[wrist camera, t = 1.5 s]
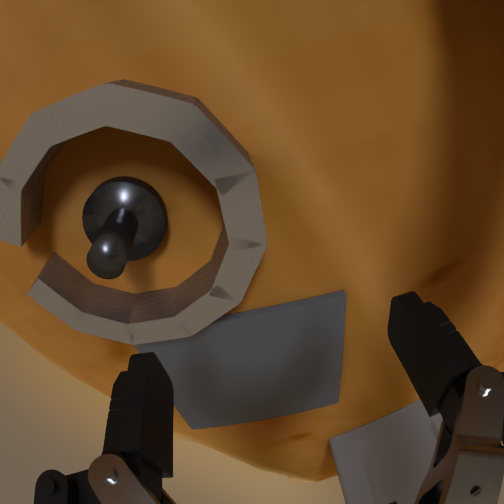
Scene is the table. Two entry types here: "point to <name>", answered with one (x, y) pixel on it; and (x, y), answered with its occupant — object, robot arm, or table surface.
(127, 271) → the table surface
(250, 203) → the steel ring
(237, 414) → the rubber mat
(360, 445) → the tall grey upright block
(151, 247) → the peg stand
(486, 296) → the table surface
